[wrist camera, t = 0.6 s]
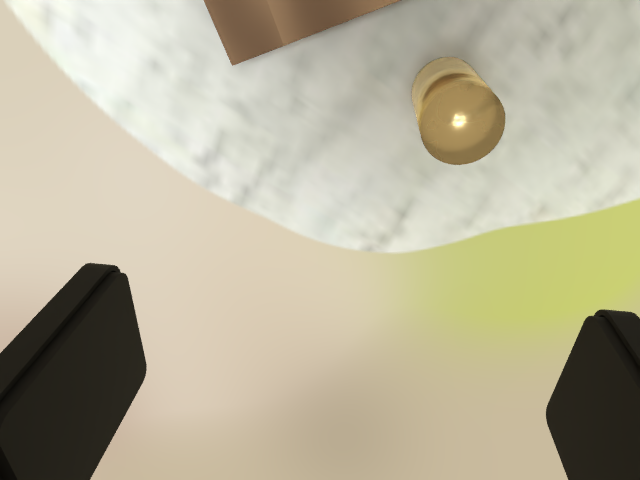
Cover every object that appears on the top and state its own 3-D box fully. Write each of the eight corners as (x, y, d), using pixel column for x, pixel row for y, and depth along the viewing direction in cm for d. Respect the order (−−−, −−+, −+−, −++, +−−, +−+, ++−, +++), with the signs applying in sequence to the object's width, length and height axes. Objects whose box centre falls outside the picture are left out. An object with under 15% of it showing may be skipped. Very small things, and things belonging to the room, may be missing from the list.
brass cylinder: (471, 47, 27) (497, 71, 21) (483, 111, 29) (511, 151, 23) (404, 70, 28) (411, 100, 22) (420, 131, 30) (431, 174, 24)
